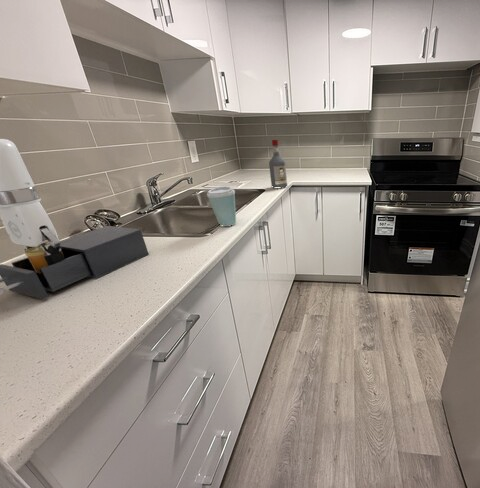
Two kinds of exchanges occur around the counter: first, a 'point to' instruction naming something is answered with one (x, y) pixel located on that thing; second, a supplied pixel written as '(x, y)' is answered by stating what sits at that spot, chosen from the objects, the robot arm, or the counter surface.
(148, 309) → the counter surface
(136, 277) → the counter surface
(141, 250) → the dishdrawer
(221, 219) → the disposable coffee cup
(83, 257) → the drawer
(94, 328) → the counter surface
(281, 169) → the liquor
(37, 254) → the jar
